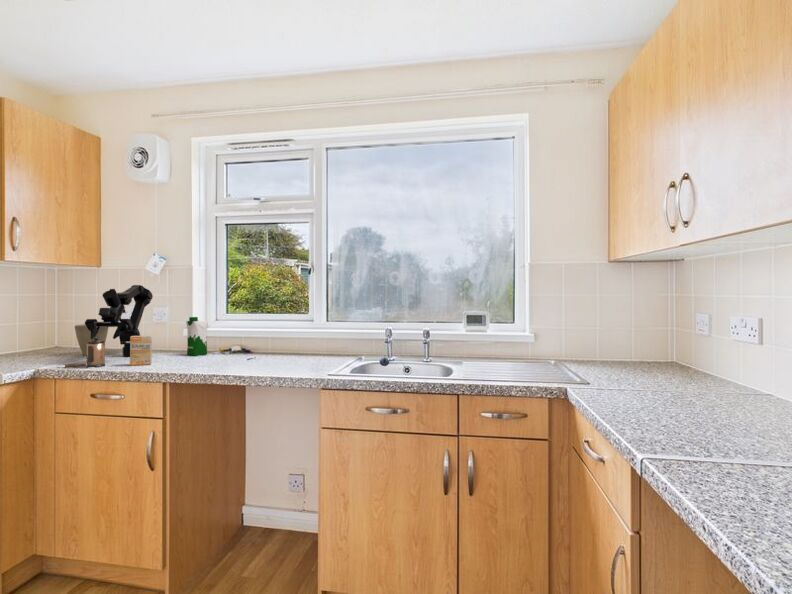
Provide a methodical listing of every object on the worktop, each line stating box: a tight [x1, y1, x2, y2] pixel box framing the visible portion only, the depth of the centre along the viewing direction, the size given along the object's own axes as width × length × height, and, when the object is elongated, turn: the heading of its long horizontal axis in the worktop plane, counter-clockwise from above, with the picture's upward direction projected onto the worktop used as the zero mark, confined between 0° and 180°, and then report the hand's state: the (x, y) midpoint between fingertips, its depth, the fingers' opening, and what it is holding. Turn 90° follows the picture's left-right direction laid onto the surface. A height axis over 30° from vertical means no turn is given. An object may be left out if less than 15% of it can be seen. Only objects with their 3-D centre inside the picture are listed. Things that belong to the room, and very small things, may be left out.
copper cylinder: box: [86, 336, 106, 368], centre depth 191 cm, size 8×7×13 cm
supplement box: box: [129, 335, 153, 367], centre depth 196 cm, size 8×5×13 cm, turn 115°
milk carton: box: [185, 316, 209, 357], centre depth 228 cm, size 9×9×20 cm
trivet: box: [62, 362, 87, 368], centre depth 192 cm, size 10×10×1 cm
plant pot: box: [74, 323, 109, 356], centre depth 230 cm, size 15×15×16 cm
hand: (102, 338), depth 197 cm, fingers open, 9 cm apart
